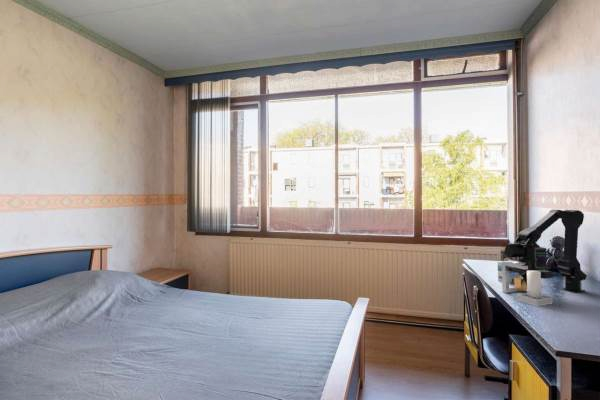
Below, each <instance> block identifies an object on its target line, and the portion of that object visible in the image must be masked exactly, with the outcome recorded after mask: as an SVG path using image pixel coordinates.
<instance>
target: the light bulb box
mask: <svg viewBox="0 0 600 400" xmlns="http://www.w3.org/2000/svg"><path fill="white" fill-rule="evenodd" d="M503 261H504V260H503ZM503 261H501V260H500V261H497V281H498V282H501V283H502V262H503ZM505 261H506V262H510V263H515V264H516V263H518V262H519V261H517V260H505ZM516 277H521V278H523V277H522V276H521V275H519V274H518V273H514V271H513V272H512V271H509V284H514V278H516Z"/></svg>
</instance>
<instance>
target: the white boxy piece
mask: <svg viewBox="0 0 600 400" xmlns="http://www.w3.org/2000/svg"><path fill="white" fill-rule="evenodd" d="M506 261H507V260H505V261H504V260H503V262H502V282H501V283H502V284H501V287H502V288H501V289H502V290H501V291H502V293H504V294H509V293H515V292H527V285H526V283H525V281H524V279H523V278H521V277H516V278H514V283H513V284H514V287H510V283H509V266H511V267H515V268H520V269H524V270H525V269H528V266H525V265H520V264H515V263H510V262H506Z"/></svg>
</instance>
